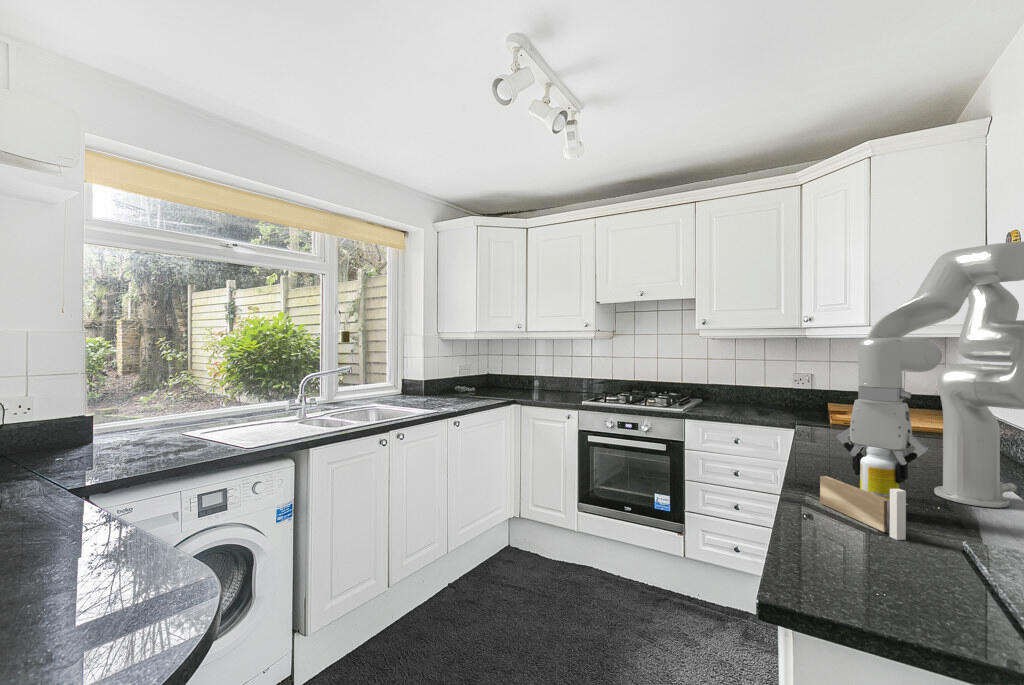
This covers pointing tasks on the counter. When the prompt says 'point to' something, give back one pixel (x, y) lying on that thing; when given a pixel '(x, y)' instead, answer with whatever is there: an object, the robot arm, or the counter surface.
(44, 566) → the counter surface
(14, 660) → the counter surface
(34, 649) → the counter surface
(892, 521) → the gate post
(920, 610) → the counter surface
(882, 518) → the wooden plank
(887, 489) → the supplement bottle
